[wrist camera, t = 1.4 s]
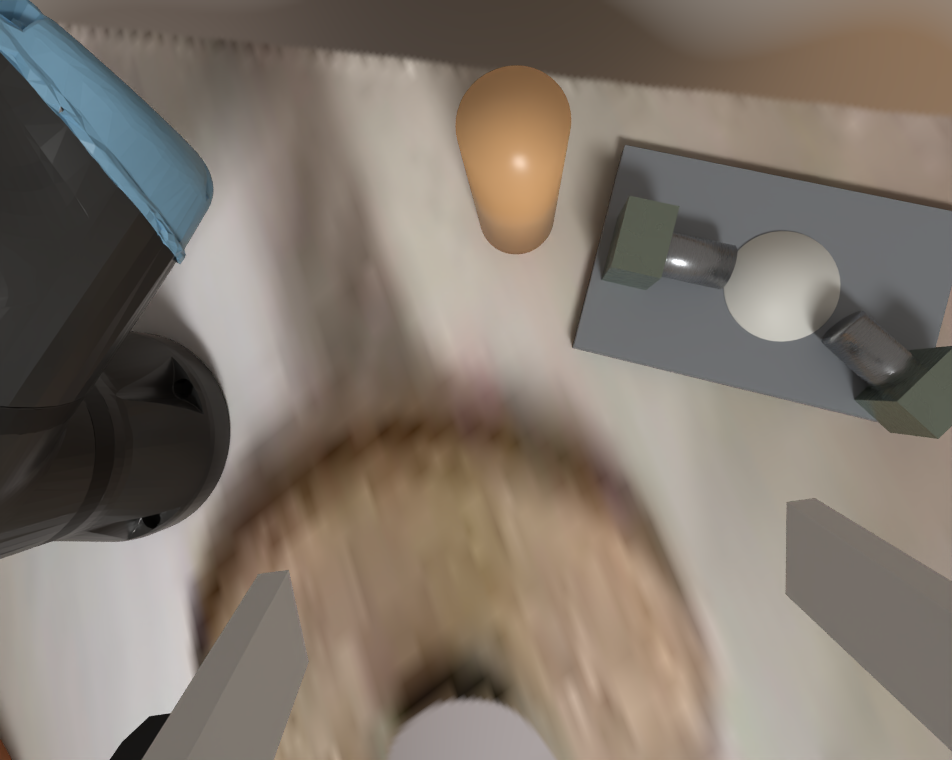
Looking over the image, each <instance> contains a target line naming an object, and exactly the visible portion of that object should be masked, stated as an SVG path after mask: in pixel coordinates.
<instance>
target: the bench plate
mask: <svg viewBox="0 0 952 760" xmlns="http://www.w3.org/2000/svg"><path fill="white" fill-rule="evenodd" d="M629 196H634V197H638V198H643V199H648V200H653V201H657V202H662V203H667V204H671V205H676V206H680V207H679V211H678V215H677V219H676V222H675V226H674V230H673V232H676V233H680V234H685V235H689V236H694V237H699V238H703V239H708V240H712V241H717V242H722V243H726V244H731V245H735V246H736V247H737V251H738V253H737V260H736V264H735V267H734V270H733V273H732V275H731V277H730V279H729V281H728V282H727V284H726V285H725V286H724V287H723V288H722V289H720V290H719V289H715V288H710V287H706V286H701V285H697V284H692V283H688V282H684V281H679V280H675V279H670V278H666V277H661V279H660V280H658V281H657V282H656V283H655V284H653V285H652V286H651V287H649V288H648V289H647V290H642V289H638V288H634V287H629V286H625V285H621V284H616V283H612V282H608V281H603V280H602V276H603V272H604V268H605V265H606V261H607V257H608V253H609V249H610V245H611V241H612V237H613V233H614V229H615V225H616V221H617V218H618V215H619V213H620V212H621V210H622V208H623V206H624V204H625V203H626V201H627V199H628V197H629ZM951 286H952V211H948V210H944V209H939V208H934V207H929V206H924V205H919V204H914V203H909V202H904V201H899V200H894V199H889V198H884V197H880V196H875V195H870V194H865V193H860V192H855V191H850V190H845V189H840V188H835V187H830V186H825V185H820V184H815V183H811V182H806V181H801V180H796V179H791V178H786V177H781V176H776V175H771V174H766V173H761V172H756V171H751V170H747V169H742V168H737V167H732V166H727V165H722V164H717V163H712V162H707V161H702V160H697V159H692V158H687V157H682V156H678V155H673V154H668V153H663V152H658V151H653V150H648V149H643V148H638V147H633V146H628V145H625V146H624V149H623V151H622V155H621V159H620V163H619V167H618V171H617V174H616V178H615V182H614V186H613V190H612V194H611V198H610V202H609V206H608V210H607V214H606V218H605V222H604V225H603V229H602V233H601V237H600V241H599V245H598V249H597V253H596V257H595V261H594V265H593V269H592V273H591V276H590V280H589V284H588V288H587V292H586V296H585V300H584V304H583V308H582V312H581V316H580V320H579V324H578V327H577V331H576V335H575V339H574V343H573V347H572V348H575V349H579V350H583V351H588V352H592V353H596V354H600V355H604V356H608V357H612V358H616V359H620V360H625V361H629V362H633V363H637V364H641V365H645V366H649V367H653V368H657V369H662V370H666V371H670V372H674V373H678V374H682V375H686V376H690V377H694V378H699V379H703V380H707V381H711V382H715V383H719V384H723V385H727V386H731V387H736V388H740V389H744V390H748V391H752V392H756V393H760V394H764V395H769V396H773V397H777V398H781V399H785V400H789V401H793V402H797V403H801V404H806V405H810V406H814V407H818V408H822V409H826V410H830V411H834V412H838V413H843V414H847V415H851V416H855V417H859V418H863V419H867V420H871V421H875V422H878V421H877V420H876V419H875V418H873V417H872V416H871V415H870V414H869V413H868V412H867V411H866V410H865V409H864V408H862V407H861V406H860V405H859V404H858V403H857V402H856V401H855V400H854V399H855V398H856V397H857V396H858V395H859V394H860V393H861V392H862V391H863V390H864V389H865V388H866V387H867V386H868V384H867V383H866V382H864V381H863V380H862V379H861V378H860V377H859V376H858V375H857V374H856V373H855V372H853V371H852V370H851V369H850V368H849V367H848V366H847V365H846V364H845V363H843V362H842V361H841V360H840V359H839V358H838V357H837V356H836V355H835V354H834V353H832V352H831V351H830V350H829V349H828V348H827V347H826V346H825V345H824V344H822V342H821V340H822V338H823V336H824V335H825V334H826V332H827V331H828V330H829V329H830V328H832V327H833V326H834V325H835V324H836V323H838V322H839V321H840V320H842V319H843V318H845V317H847V316H848V315H850V314H852V313H855V312H857V311H864V312H866V313H867V314H868V315H869V316H870V317H871V318H872V319H873V320H875V321H876V322H877V323H878V324H879V325H880V326H881V327H882V328H883V329H885V330H886V331H887V332H888V333H889V334H890V335H891V336H892V337H894V338H895V339H896V340H897V341H898V342H899V343H900V344H901V345H903V346H904V347H905V348H906V349H907V350H914V349H925V348H935V347H936V343H937V339H938V336H939V332H940V328H941V324H942V320H943V317H944V313H945V309H946V305H947V302H948V298H949V294H950V290H951Z"/></svg>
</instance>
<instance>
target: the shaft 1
mask: <svg viewBox="0 0 952 760" xmlns="http://www.w3.org/2000/svg"><path fill="white" fill-rule="evenodd" d="M679 207H680V206H676V205H671V204H667V203H662V202H657V201H653V200H648V199H643V198H638V197H634V196H629V197H628V199H627V201H626V203H625V204H624V206H623V208H622V210H621V212H620V213H619V215H618V218H617V221H616V225H615V229H614V233H613V237H612V241H611V245H610V249H609V253H608V257H607V261H606V265H605V268H604V272H603V276H602V280H603V281H608V282H612V283H616V284H621V285H625V286H629V287H634V288H638V289H642V290H647V289H648V288H649V287H651V286H652V285H653V284H655V283H656V282H657V281H658V280H660V279H661V277H666V278H670V279H675V280H679V281H684V282H688V283H692V284H697V285H701V286H706V287H710V288H715V289H719V290H720V289H722V288H723V287H724V286H725V285H726V284H727V282H728V281H729V279H730V277H731V275H732V273H733V270H734V267H735V264H736V260H737V253H738V251H737V247H736V246H735V245H731V244H726V243H722V242H717V241H712V240H708V239H703V238H699V237H694V236H689V235H685V234H680V233H676V232H673V230H674V226H675V222H676V219H677V215H678V211H679Z"/></svg>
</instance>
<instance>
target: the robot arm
mask: <svg viewBox="0 0 952 760" xmlns="http://www.w3.org/2000/svg"><path fill="white" fill-rule="evenodd" d="M212 198H213V182H212V178H211V175H210V172H209V170H208V168H207V166H206V164H205V163H204V161H203V160H202V158H201V157H200V156H199V155H198V153H197V152H196V151H195V150H194V149H193V148H192V147H191V146H190V145H189V144H188V143H187V142H186V141H185V140H184V139H183V138H182V136H181V135H180V134H178V133H177V132H176V131H175V130H174V129H173V128H172V127H171V126H170V125H169V124H168V123H167V122H166V121H165V120H164V119H163V118H162V117H161V116H160V115H159V114H158V113H157V112H156V111H154V110H153V109H152V108H151V107H150V106H149V105H148V104H147V103H146V102H145V101H144V100H143V99H142V98H141V97H139V96H138V95H137V94H136V93H135V92H134V91H133V90H132V89H131V88H130V87H129V86H128V85H126V84H125V83H124V82H123V81H122V80H121V79H120V78H119V77H118V76H116V75H115V74H114V73H113V72H112V71H111V70H110V69H109V68H108V67H106V66H105V65H104V64H103V63H102V62H101V61H100V60H99V59H97V58H96V57H95V56H94V55H93V54H92V53H91V52H90V51H88V50H87V49H86V48H85V47H84V46H83V45H82V44H80V43H79V42H78V41H77V40H76V39H75V38H73V37H72V36H71V35H70V34H69V33H68V32H66V31H65V30H64V29H63V28H62V27H61V26H59V25H58V24H57V23H56V22H55V21H53V20H52V19H50V18H48V17H47V16H45V15H43V14H42V12H41V11H40V10H39V9H38V8H37V7H36V6H35V5H34V4H33V3H32V2H30V1H29V0H0V559H1V558H4V557H7V556H10V555H13V554H16V553H19V552H22V551H25V550H28V549H31V548H33V547H36V546H39V545H42V544H46V543H49V542H52V541H91V542H119V541H128V540H133V539H138V538H142V537H145V536H148V535H151V534H153V533H156V532H158V531H161V530H163V529H166V528H168V527H171V526H173V525H175V524H177V523H179V522H181V521H182V520H184V519H186V518H187V517H188V516H190V515H191V514H192V513H194V512H195V511H196V510H197V509H198V508H199V507H200V506H201V505H202V504H203V503H204V502H205V501H206V500H207V498H208V497H209V496H210V494H211V493H212V491H213V490H214V488H215V486H216V485H217V483H218V481H219V479H220V477H221V474H222V472H223V469H224V466H225V463H226V459H227V455H228V449H229V439H230V428H229V418H228V412H227V407H226V404H225V400H224V397H223V395H222V392H221V390H220V388H219V386H218V384H217V382H216V380H215V378H214V377H213V375H212V374H211V372H210V371H209V370H208V368H207V367H206V366H205V365H204V364H203V363H202V361H201V360H200V359H199V358H198V357H196V356H195V355H194V354H193V353H192V352H191V351H189V350H188V349H186V348H185V347H183V346H182V345H180V344H178V343H176V342H174V341H172V340H170V339H167V338H165V337H161V336H158V335H154V334H148V333H141V332H133V331H130V330H131V329H132V327H133V326H134V324H135V323H136V321H137V320H138V318H139V317H140V315H141V314H142V312H143V311H144V309H145V308H146V306H147V305H148V303H149V302H150V300H151V299H152V297H153V296H154V294H155V293H156V291H157V290H158V288H159V287H160V285H161V284H162V282H163V281H164V279H165V278H166V276H167V275H168V273H169V272H170V270H171V269H172V267H173V266H174V264H175V263H176V262H177V263H179V264H181V262H182V261H183V260H184V258H185V255H186V254H185V251H184V249H185V247H186V245H187V244H188V242H189V240H190V239H191V237H192V235H193V234H194V232H195V230H196V228H197V227H198V225H199V223H200V222H201V220H202V218H203V217H204V215H205V213H206V212H207V210H208V208H209V206H210V204H211V201H212ZM786 595H787V596H788V597H789V598H790V599H791V600H792V601H793V602H794V603H795V604H797V605H798V606H799V607H800V608H801V609H802V610H803V611H804V612H805V613H806V614H807V615H808V616H809V617H810V618H811V619H812V620H813V621H815V622H816V623H817V624H818V625H819V626H820V627H821V628H822V629H823V630H824V631H825V632H826V633H827V634H828V635H829V636H830V637H831V638H833V639H834V640H835V641H836V642H837V643H838V644H839V645H840V646H841V647H842V648H843V649H844V650H845V651H846V652H847V653H848V654H849V655H851V656H852V657H853V658H854V659H855V660H856V661H857V662H858V663H859V664H860V665H861V666H862V667H863V668H864V669H865V670H866V671H867V672H869V673H870V674H871V675H872V676H873V677H874V678H875V679H876V680H877V681H878V682H879V683H880V684H881V685H882V686H883V687H884V688H885V689H887V690H888V691H889V692H890V693H891V694H892V695H893V696H894V697H895V698H896V699H897V700H898V701H899V702H900V703H901V704H902V705H903V706H905V707H906V708H907V709H908V710H909V711H910V712H911V713H912V714H913V715H914V716H915V717H916V718H917V719H918V720H919V721H920V722H921V723H922V724H924V725H925V726H926V727H927V728H928V729H929V730H930V731H931V732H932V733H933V734H934V735H935V736H936V737H937V738H938V739H939V740H940V741H942V742H943V743H944V744H945V745H946V746H947V747H948V748H949V749H950V750H951V751H952V581H950V580H949V579H947V578H945V577H944V576H942V575H940V574H939V573H937V572H935V571H934V570H932V569H930V568H929V567H927V566H926V565H924V564H922V563H921V562H919V561H917V560H916V559H914V558H912V557H911V556H909V555H907V554H906V553H904V552H902V551H901V550H899V549H898V548H896V547H894V546H893V545H891V544H889V543H888V542H886V541H884V540H883V539H881V538H879V537H878V536H876V535H875V534H873V533H871V532H870V531H868V530H866V529H865V528H863V527H861V526H860V525H858V524H856V523H855V522H853V521H852V520H850V519H848V518H847V517H845V516H843V515H842V514H840V513H838V512H837V511H835V510H833V509H832V508H830V507H829V506H827V505H825V504H824V503H822V502H820V501H819V500H817V499H815V498H812V499H805V500H798V501H790V502H787V516H786ZM307 665H308V657H307V652H306V648H305V643H304V639H303V634H302V629H301V625H300V620H299V616H298V611H297V606H296V602H295V597H294V592H293V588H292V583H291V579H290V574H289V570H285V571H278V572H270V573H263V574H258V576H257V577H256V579H255V581H254V582H253V584H252V585H251V587H250V589H249V590H248V592H247V593H246V595H245V597H244V598H243V600H242V601H241V603H240V604H239V606H238V608H237V609H236V611H235V612H234V614H233V616H232V617H231V619H230V620H229V622H228V623H227V625H226V627H225V628H224V630H223V631H222V633H221V635H220V636H219V638H218V639H217V641H216V643H215V644H214V646H213V647H212V649H211V650H210V652H209V654H208V655H207V657H206V658H205V660H204V662H203V663H202V665H201V666H200V668H199V670H198V671H197V673H196V674H195V676H194V677H193V679H192V681H191V682H190V684H189V685H188V687H187V689H186V690H185V692H184V693H183V695H182V696H181V698H180V700H179V701H178V703H177V704H176V706H175V708H174V709H173V711H172V712H171V713H170V714H163V715H156V716H149V717H148V718H147V719H146V720H145V721H144V722H143V723H142V724H141V725H140V726H139V727H138V728H137V729H135V730H134V731H133V732H132V733H131V734H130V735H129V736H128V737H127V738H126V739H125V740H124V741H123V742H122V743H121V744H120V746H119V747H118V749H117V750H116V751H115V753H114V754H113V756H112V757H111V759H110V760H274V757H275V754H276V751H277V749H278V746H279V743H280V740H281V737H282V735H283V732H284V729H285V726H286V724H287V721H288V718H289V715H290V712H291V710H292V707H293V704H294V701H295V698H296V696H297V693H298V690H299V687H300V684H301V682H302V679H303V676H304V673H305V670H306V668H307Z"/></svg>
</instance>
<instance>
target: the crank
mask: <svg viewBox="0 0 952 760" xmlns="http://www.w3.org/2000/svg"><path fill="white" fill-rule="evenodd" d="M0 760H12V759H11V757H10V755H9V754H8V752H7V750H6V748H5V746H4V745H3V743H2V741H1V740H0Z"/></svg>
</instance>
